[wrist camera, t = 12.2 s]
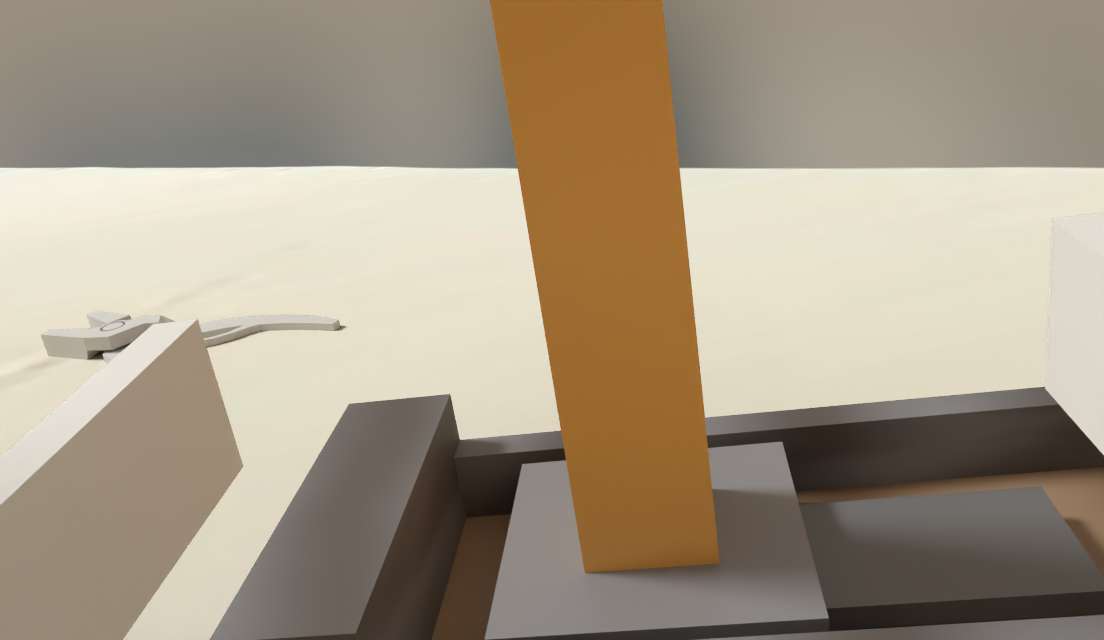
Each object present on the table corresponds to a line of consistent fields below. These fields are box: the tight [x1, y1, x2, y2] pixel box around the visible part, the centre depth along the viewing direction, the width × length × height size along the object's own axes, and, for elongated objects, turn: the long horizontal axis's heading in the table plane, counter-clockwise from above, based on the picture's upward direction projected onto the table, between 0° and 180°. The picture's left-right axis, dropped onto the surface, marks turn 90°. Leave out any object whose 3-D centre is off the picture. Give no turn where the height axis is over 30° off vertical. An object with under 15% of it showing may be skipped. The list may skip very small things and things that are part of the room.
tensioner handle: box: [484, 0, 1104, 640], centre depth 20 cm, size 13×7×15 cm, turn 85°
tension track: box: [210, 387, 1104, 640], centre depth 23 cm, size 26×10×5 cm, turn 85°
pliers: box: [41, 311, 340, 363], centre depth 49 cm, size 10×2×15 cm
